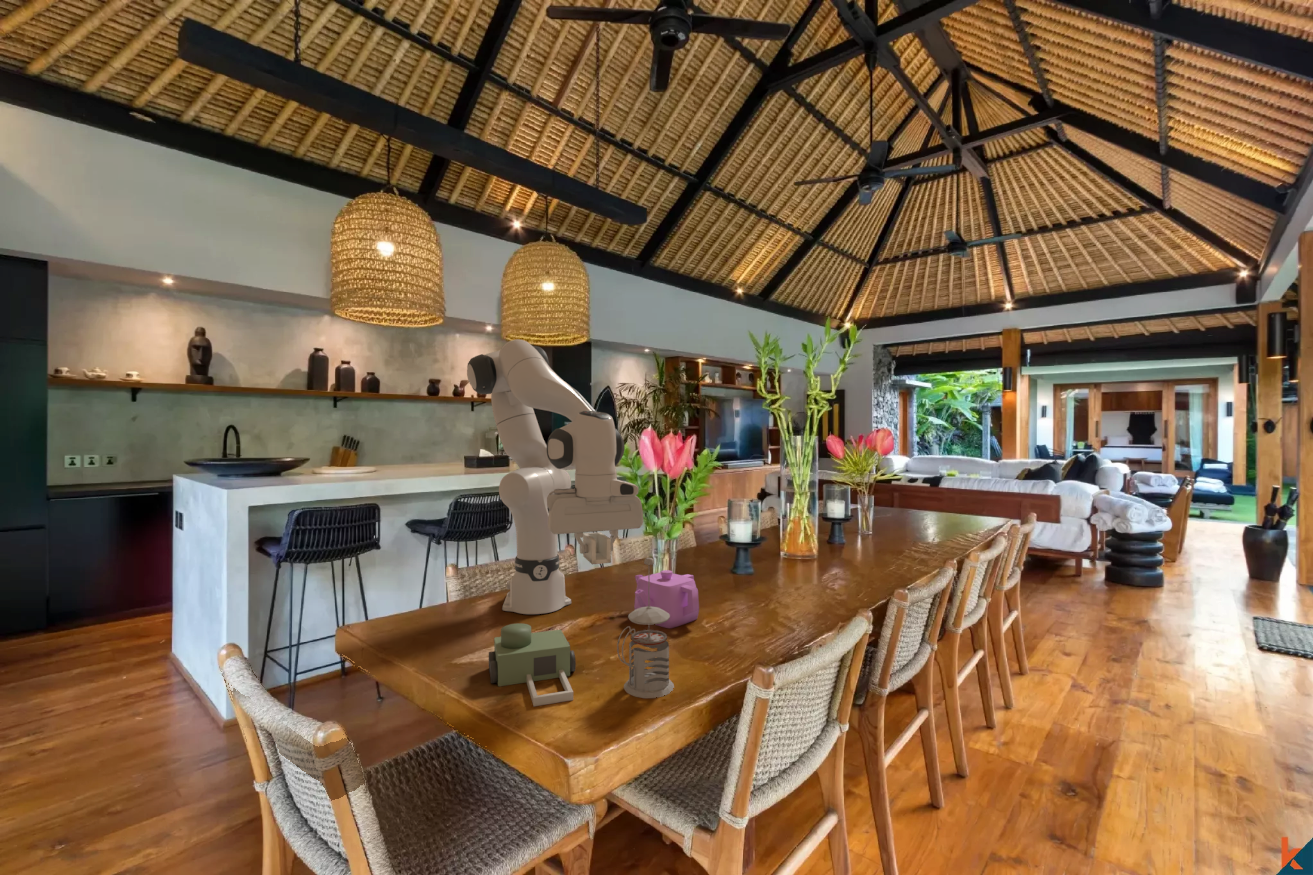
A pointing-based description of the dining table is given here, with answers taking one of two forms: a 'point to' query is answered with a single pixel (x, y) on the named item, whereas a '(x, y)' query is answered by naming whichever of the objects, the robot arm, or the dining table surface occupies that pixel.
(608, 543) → the slotted cream stand
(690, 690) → the dining table surface
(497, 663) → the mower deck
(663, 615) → the french press
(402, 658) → the dining table surface
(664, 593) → the teakettle
